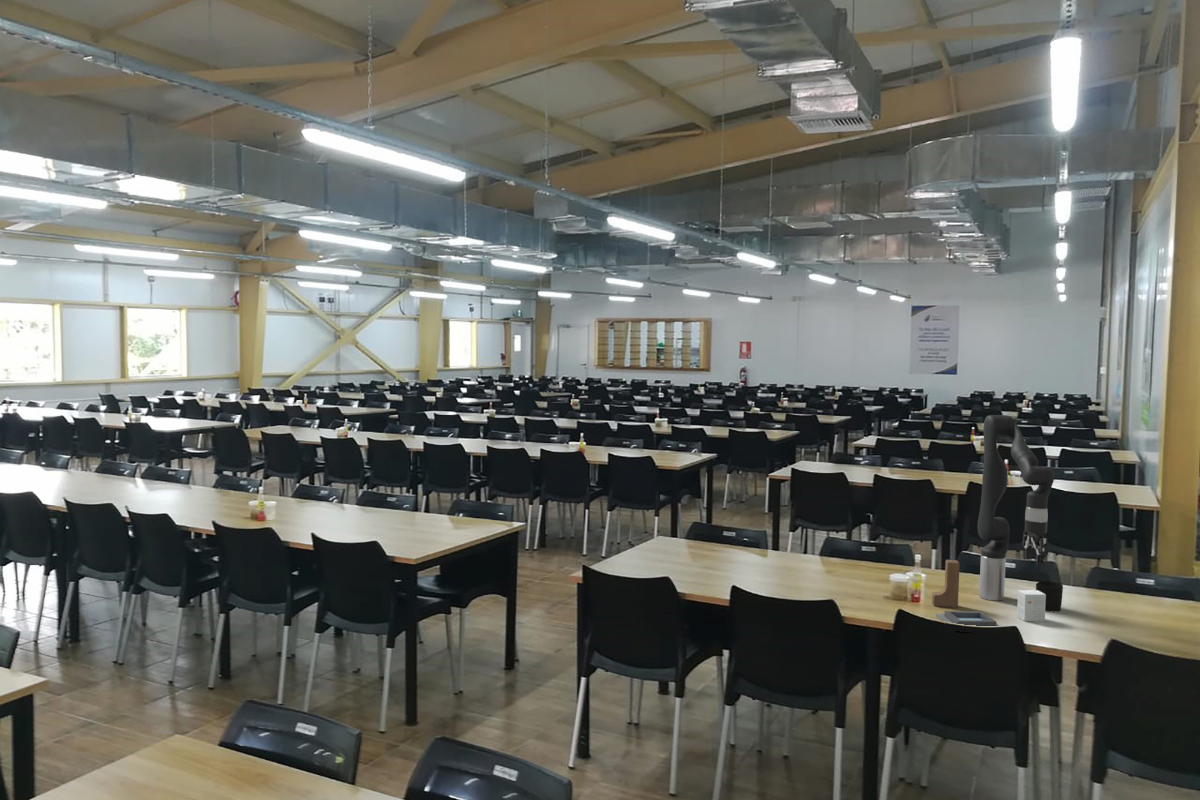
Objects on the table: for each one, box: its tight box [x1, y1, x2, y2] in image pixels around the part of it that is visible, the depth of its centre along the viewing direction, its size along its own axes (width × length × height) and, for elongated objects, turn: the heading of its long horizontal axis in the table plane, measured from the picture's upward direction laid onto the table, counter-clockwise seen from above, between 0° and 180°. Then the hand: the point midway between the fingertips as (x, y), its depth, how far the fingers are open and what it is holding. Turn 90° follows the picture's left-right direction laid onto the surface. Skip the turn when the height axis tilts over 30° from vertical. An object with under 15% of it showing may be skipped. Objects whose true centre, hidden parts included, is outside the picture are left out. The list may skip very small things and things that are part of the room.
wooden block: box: [931, 559, 961, 609], centre depth 335 cm, size 9×4×18 cm, turn 78°
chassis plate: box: [935, 610, 1000, 626], centre depth 312 cm, size 18×18×3 cm
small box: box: [1016, 589, 1046, 622], centre depth 319 cm, size 8×6×10 cm
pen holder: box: [1035, 580, 1064, 613], centre depth 333 cm, size 9×9×10 cm
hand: (1034, 561), depth 318 cm, fingers open, 8 cm apart
